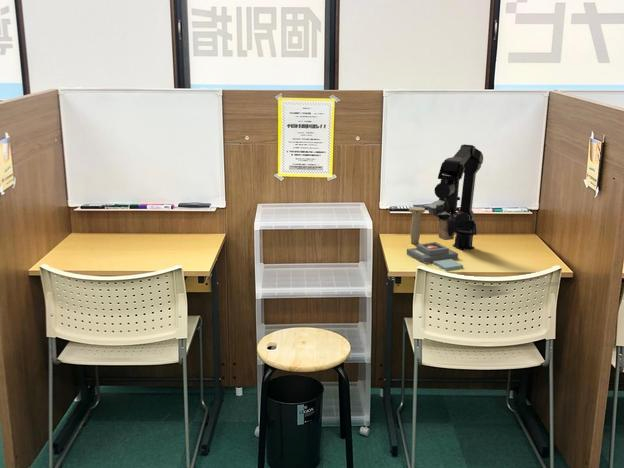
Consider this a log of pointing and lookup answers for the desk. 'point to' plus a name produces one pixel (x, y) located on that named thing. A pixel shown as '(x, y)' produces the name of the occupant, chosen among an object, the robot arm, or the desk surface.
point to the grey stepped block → (431, 253)
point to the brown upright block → (444, 230)
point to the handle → (416, 223)
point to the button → (432, 247)
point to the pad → (448, 264)
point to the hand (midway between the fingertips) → (446, 234)
